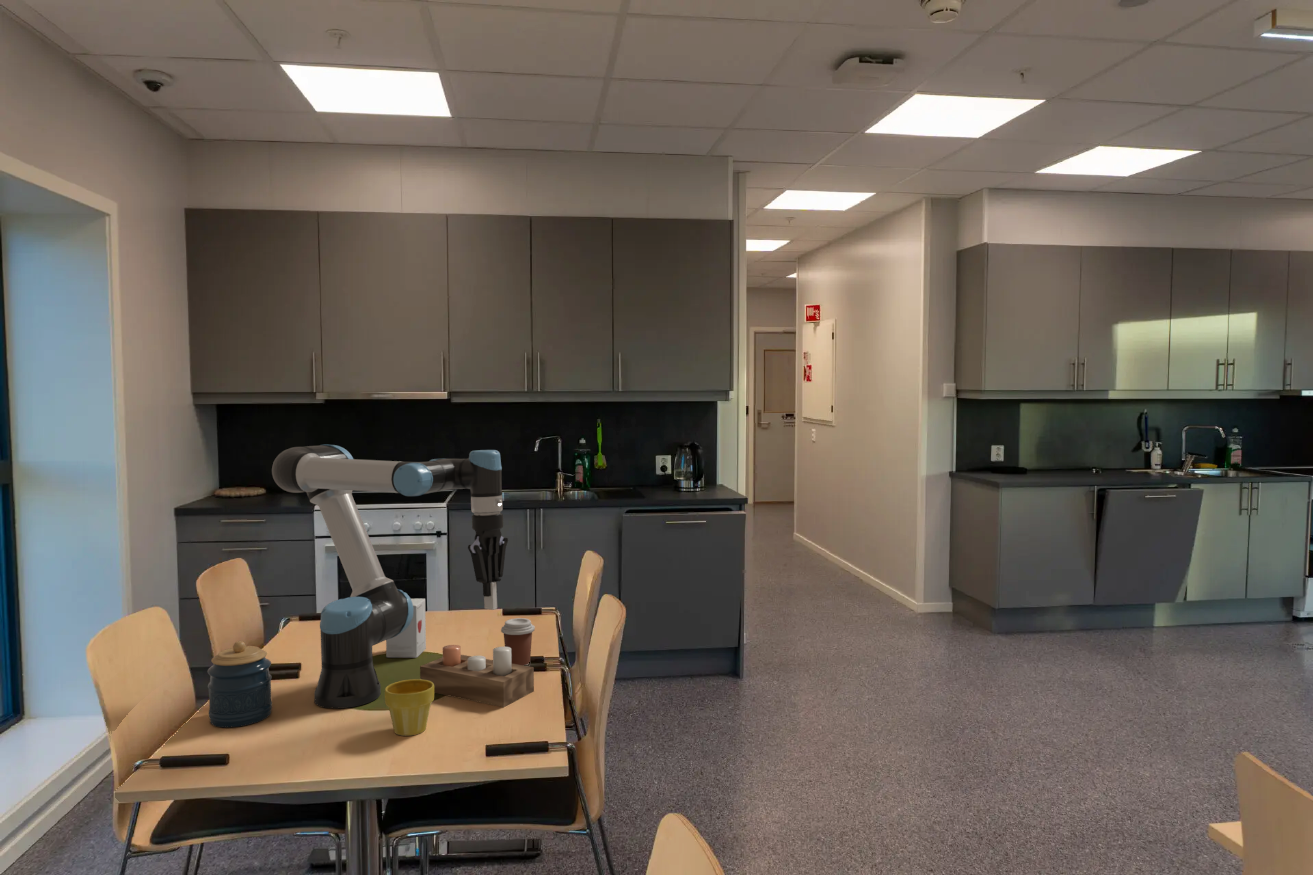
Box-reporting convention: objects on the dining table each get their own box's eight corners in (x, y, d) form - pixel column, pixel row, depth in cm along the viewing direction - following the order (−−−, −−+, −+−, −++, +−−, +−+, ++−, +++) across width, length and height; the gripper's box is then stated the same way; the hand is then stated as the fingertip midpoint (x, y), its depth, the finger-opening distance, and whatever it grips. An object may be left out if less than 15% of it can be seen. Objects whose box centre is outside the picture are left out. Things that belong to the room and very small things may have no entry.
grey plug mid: (478, 690, 201) (477, 662, 200) (464, 687, 203) (463, 659, 202) (489, 684, 205) (489, 657, 204) (475, 681, 207) (475, 654, 206)
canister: (274, 703, 195) (272, 630, 194) (270, 723, 183) (268, 645, 182) (213, 711, 190) (211, 636, 190) (204, 732, 178) (202, 652, 178)
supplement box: (417, 658, 230) (416, 605, 229) (385, 658, 230) (384, 605, 229) (427, 648, 239) (426, 597, 238) (396, 648, 239) (395, 597, 238)
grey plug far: (504, 681, 197) (503, 652, 197) (489, 678, 199) (489, 650, 199) (515, 676, 201) (514, 647, 200) (500, 673, 203) (500, 645, 202)
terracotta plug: (452, 678, 204) (452, 650, 204) (439, 675, 206) (438, 648, 206) (464, 673, 208) (464, 646, 208) (451, 670, 210) (450, 643, 210)
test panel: (503, 707, 192) (503, 681, 192) (420, 689, 204) (419, 666, 204) (533, 691, 203) (533, 667, 203) (452, 675, 215) (452, 652, 215)
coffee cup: (538, 659, 228) (538, 617, 227) (530, 670, 219) (529, 626, 218) (506, 658, 229) (506, 616, 228) (497, 669, 220) (496, 625, 219)
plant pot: (416, 717, 186) (416, 674, 186) (444, 728, 180) (443, 684, 179) (376, 731, 178) (375, 687, 178) (403, 743, 172) (402, 698, 171)
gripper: (482, 517, 192) (486, 616, 193) (515, 510, 204) (519, 603, 205) (457, 516, 196) (461, 613, 197) (491, 509, 207) (495, 601, 208)
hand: (490, 608), depth 201 cm, fingers closed
